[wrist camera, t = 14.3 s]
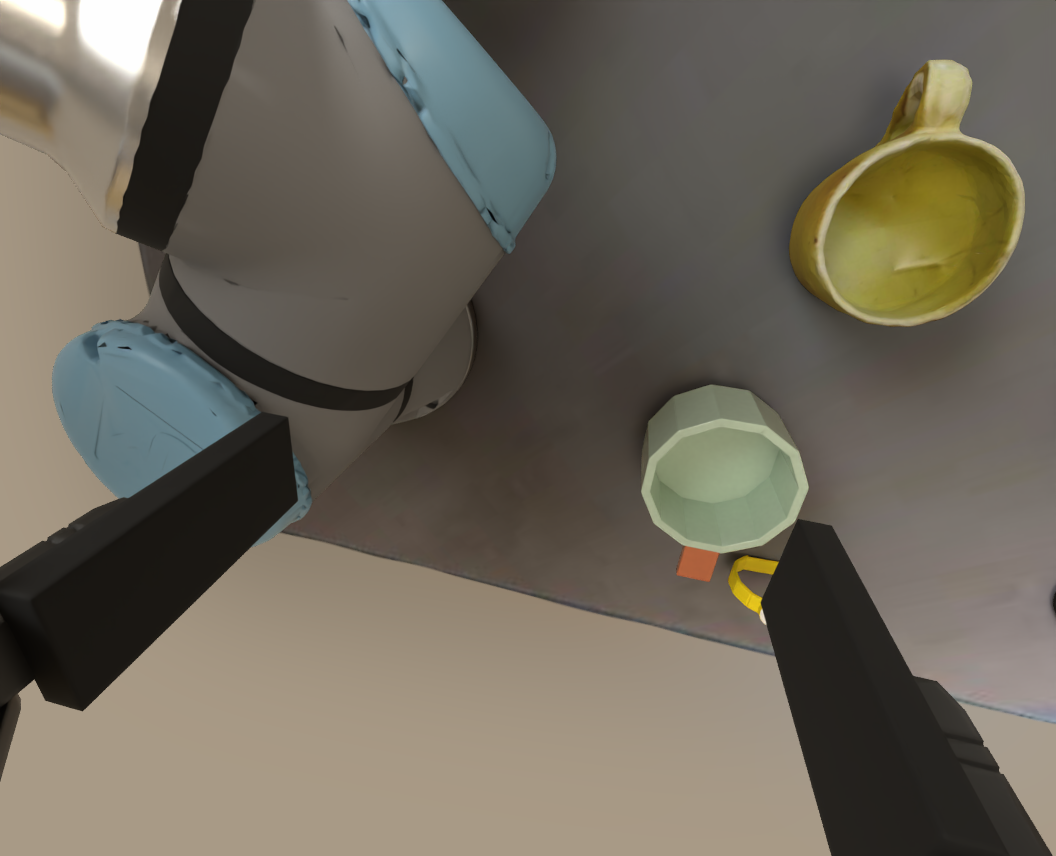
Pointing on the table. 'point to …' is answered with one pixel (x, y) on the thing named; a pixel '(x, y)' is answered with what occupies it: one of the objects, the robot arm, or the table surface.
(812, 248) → the mug
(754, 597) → the watch
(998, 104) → the table surface
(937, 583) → the table surface
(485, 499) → the table surface
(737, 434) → the pale green cup
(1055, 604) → the webcam
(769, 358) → the table surface
